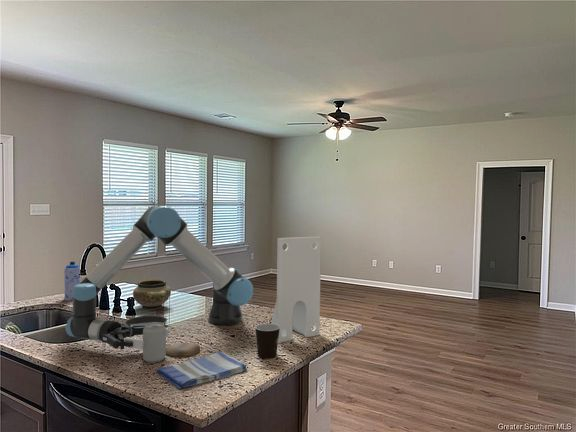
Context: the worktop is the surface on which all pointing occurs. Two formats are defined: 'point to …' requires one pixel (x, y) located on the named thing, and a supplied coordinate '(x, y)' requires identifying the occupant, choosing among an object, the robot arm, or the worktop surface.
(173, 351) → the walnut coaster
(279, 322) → the arched white panel
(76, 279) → the aerosol can
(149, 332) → the can
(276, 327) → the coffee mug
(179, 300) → the worktop surface
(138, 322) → the frying pan
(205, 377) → the dish towel
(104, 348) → the worktop surface
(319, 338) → the worktop surface
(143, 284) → the ceramic bowl
